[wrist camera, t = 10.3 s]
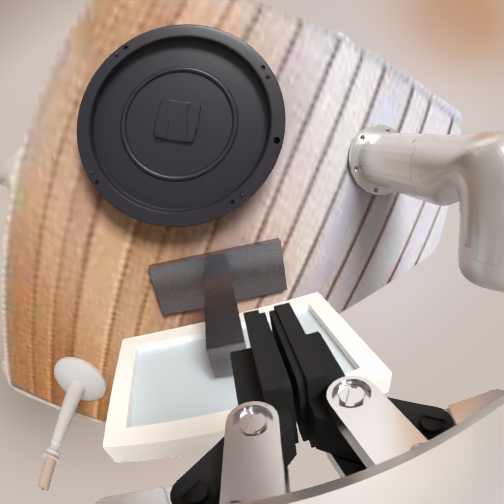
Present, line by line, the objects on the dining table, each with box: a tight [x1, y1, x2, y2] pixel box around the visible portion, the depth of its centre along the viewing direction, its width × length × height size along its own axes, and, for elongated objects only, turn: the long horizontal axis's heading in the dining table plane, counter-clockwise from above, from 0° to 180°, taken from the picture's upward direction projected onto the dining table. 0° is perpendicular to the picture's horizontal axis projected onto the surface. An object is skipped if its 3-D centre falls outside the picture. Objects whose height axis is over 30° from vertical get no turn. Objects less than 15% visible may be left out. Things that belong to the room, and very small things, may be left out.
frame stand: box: [148, 238, 287, 378], centre depth 41 cm, size 22×9×23 cm, turn 100°
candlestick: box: [38, 357, 106, 491], centre depth 42 cm, size 13×13×30 cm
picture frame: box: [103, 292, 392, 463], centre depth 35 cm, size 30×3×20 cm, turn 100°
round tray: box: [77, 24, 285, 227], centre depth 41 cm, size 30×6×30 cm
